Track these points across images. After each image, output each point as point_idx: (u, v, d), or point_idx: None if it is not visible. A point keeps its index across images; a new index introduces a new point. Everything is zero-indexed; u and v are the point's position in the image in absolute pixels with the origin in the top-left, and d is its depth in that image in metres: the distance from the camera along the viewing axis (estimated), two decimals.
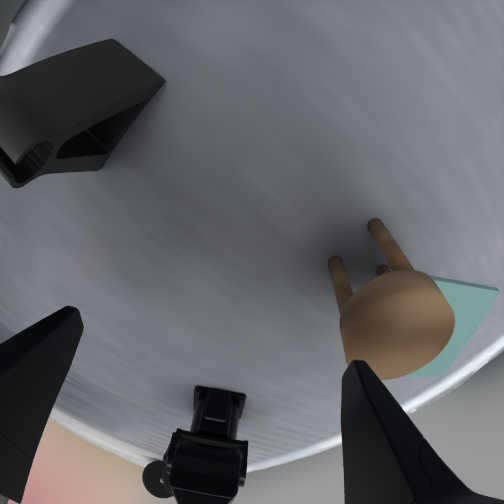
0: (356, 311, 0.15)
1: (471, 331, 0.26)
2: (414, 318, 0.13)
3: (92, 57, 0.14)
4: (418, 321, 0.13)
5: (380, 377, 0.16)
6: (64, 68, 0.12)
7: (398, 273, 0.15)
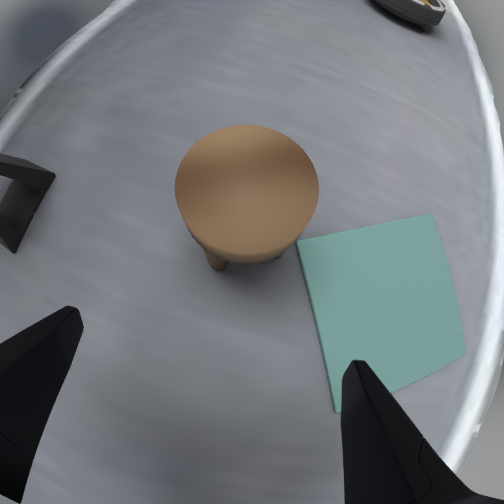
0: None
1: (445, 274, 0.23)
2: (233, 149, 0.14)
3: (11, 158, 0.21)
4: (241, 151, 0.14)
5: (263, 244, 0.13)
6: None
7: None
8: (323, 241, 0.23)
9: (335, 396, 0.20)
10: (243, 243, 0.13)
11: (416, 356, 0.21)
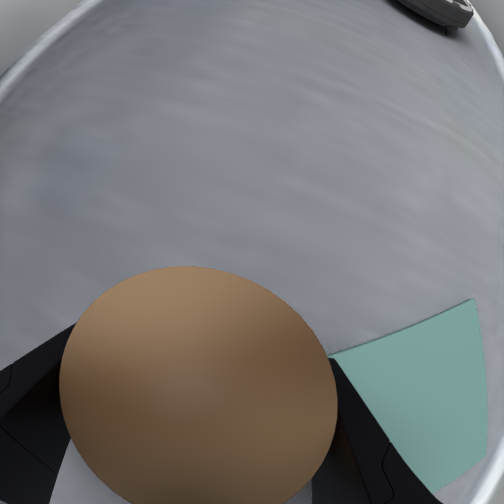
0: None
1: (480, 376, 0.15)
2: (155, 336, 0.06)
3: None
4: (173, 342, 0.06)
5: None
6: None
7: None
8: None
9: None
10: None
11: (431, 475, 0.13)
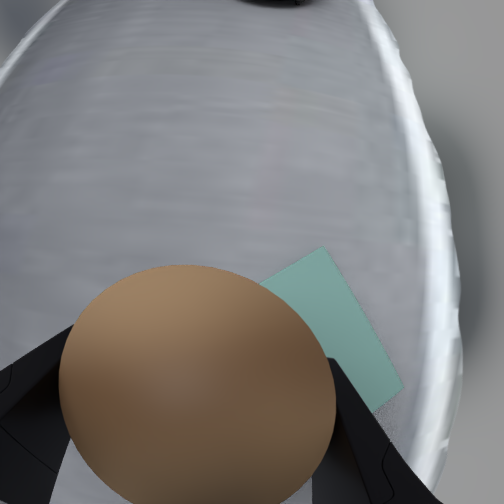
0: None
1: (355, 313, 0.22)
2: (153, 334, 0.06)
3: None
4: (171, 340, 0.06)
5: None
6: None
7: None
8: None
9: None
10: None
11: None
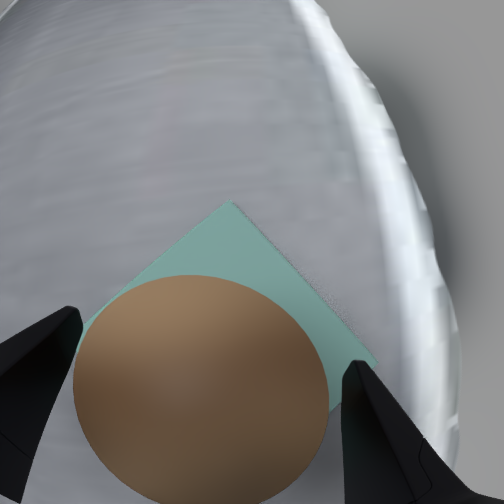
0: None
1: (286, 275, 0.18)
2: (163, 338, 0.07)
3: None
4: (179, 344, 0.07)
5: None
6: None
7: None
8: None
9: None
10: (193, 502, 0.06)
11: None
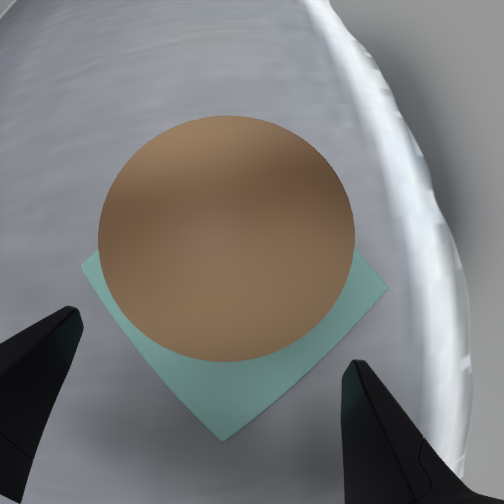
0: None
1: None
2: (199, 160, 0.08)
3: None
4: (215, 163, 0.08)
5: (252, 348, 0.07)
6: None
7: None
8: None
9: (207, 424, 0.15)
10: (215, 345, 0.07)
11: None
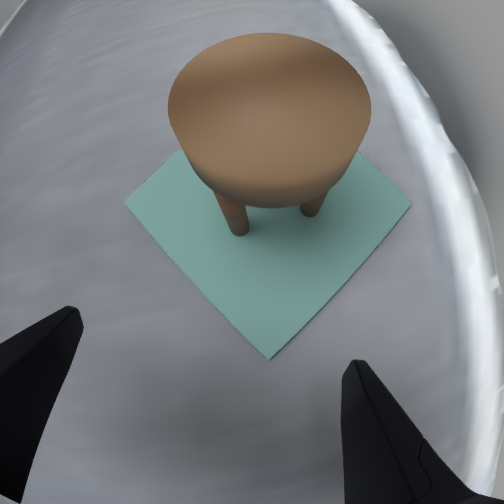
0: None
1: None
2: (246, 57, 0.09)
3: None
4: (258, 58, 0.09)
5: (303, 167, 0.08)
6: None
7: None
8: (149, 184, 0.19)
9: (252, 341, 0.17)
10: (272, 166, 0.08)
11: (336, 240, 0.18)
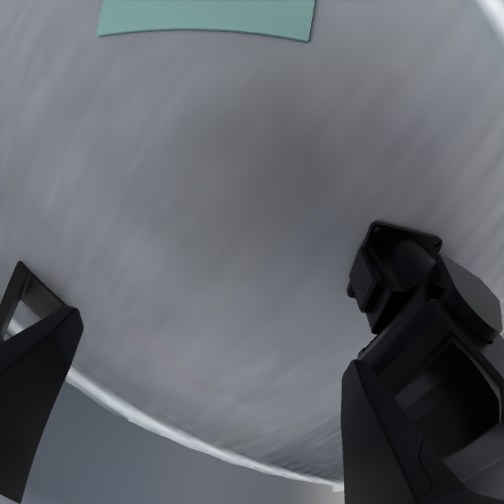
0: None
1: None
2: None
3: None
4: None
5: None
6: None
7: None
8: (106, 8, 0.13)
9: (283, 34, 0.14)
10: None
11: None
